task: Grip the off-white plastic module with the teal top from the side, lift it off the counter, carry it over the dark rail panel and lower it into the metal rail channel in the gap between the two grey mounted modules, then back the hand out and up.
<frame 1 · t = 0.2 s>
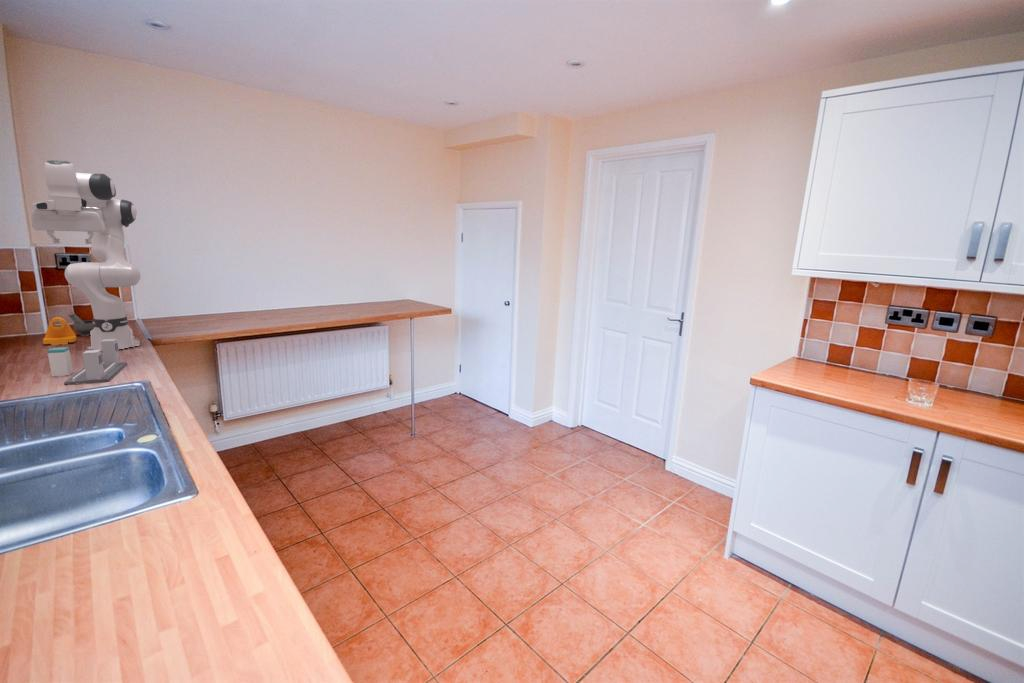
hand: (73, 243, 176), 48 cm above the table, tool pointing down, fingers open, 8 cm apart
module: (62, 374, 173), on the table
rail panel: (98, 374, 175), on the table
bracket: (60, 343, 218), on the table
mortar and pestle: (86, 335, 235), on the table
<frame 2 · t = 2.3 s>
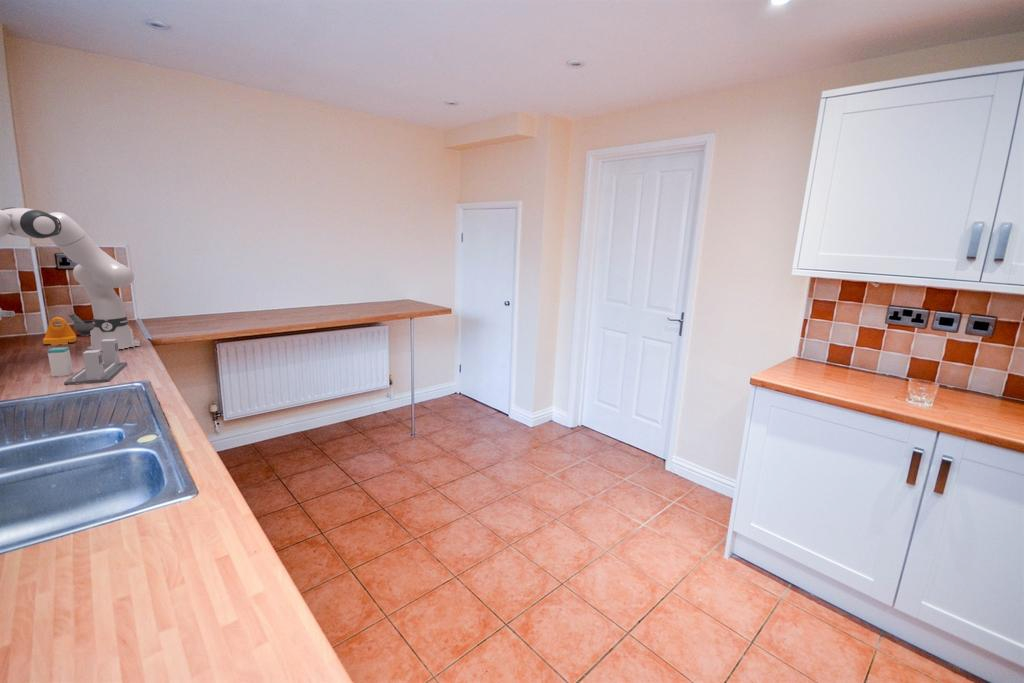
hand: (7, 315, 163), 23 cm above the table, tool horizontal, fingers open, 8 cm apart
nothing on the table moved.
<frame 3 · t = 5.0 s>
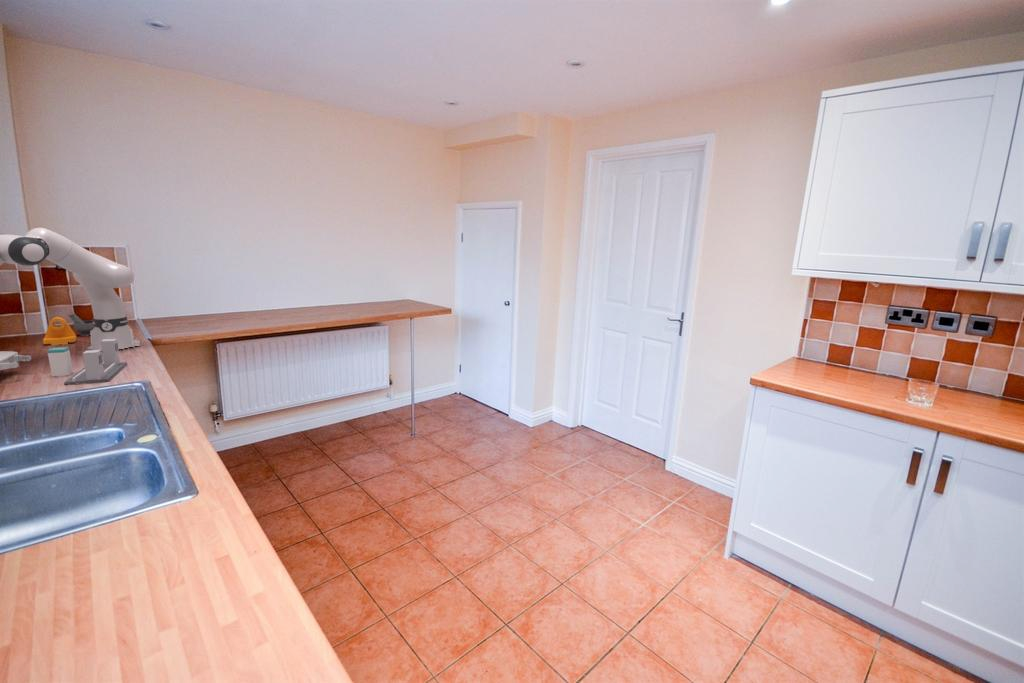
hand: (24, 361, 167), 6 cm above the table, tool horizontal, fingers open, 8 cm apart
nothing on the table moved.
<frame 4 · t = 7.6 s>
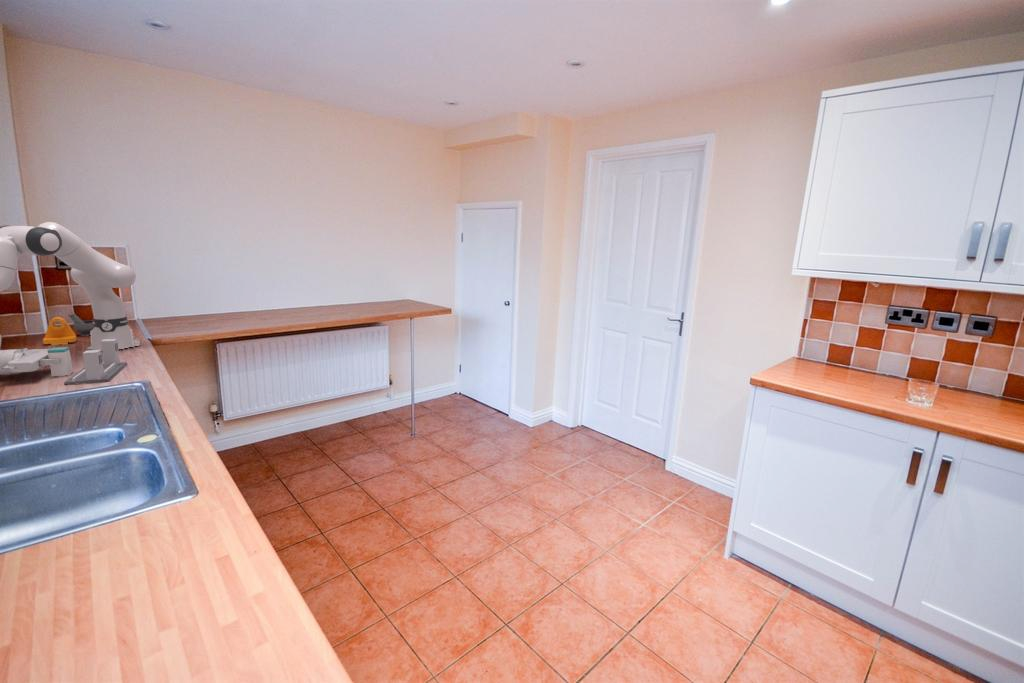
hand: (63, 358, 172), 6 cm above the table, tool horizontal, fingers closed on module, 5 cm apart
module: (62, 374, 173), on the table, touching gripper
everything else where it was.
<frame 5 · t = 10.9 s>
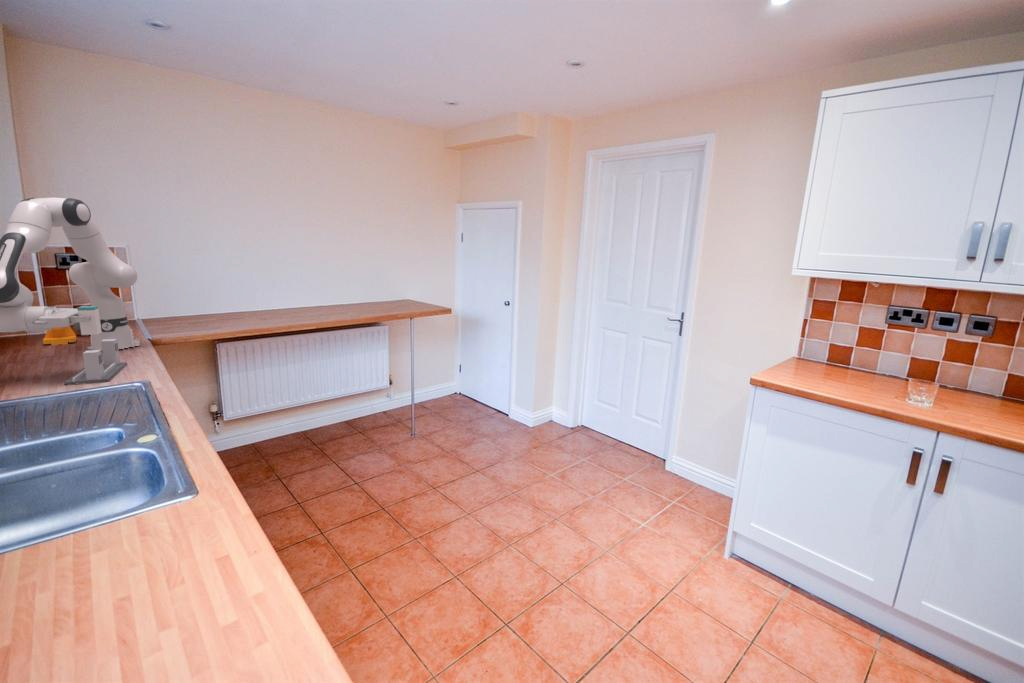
hand: (92, 317, 171), 22 cm above the table, tool horizontal, fingers closed on module, 5 cm apart
module: (91, 333, 172), point 16 cm above the table, touching gripper
everything else where it was.
when the fingers open (8 cm above the table, at t = 14.3 s): module drops 1 cm, resting on rail panel.
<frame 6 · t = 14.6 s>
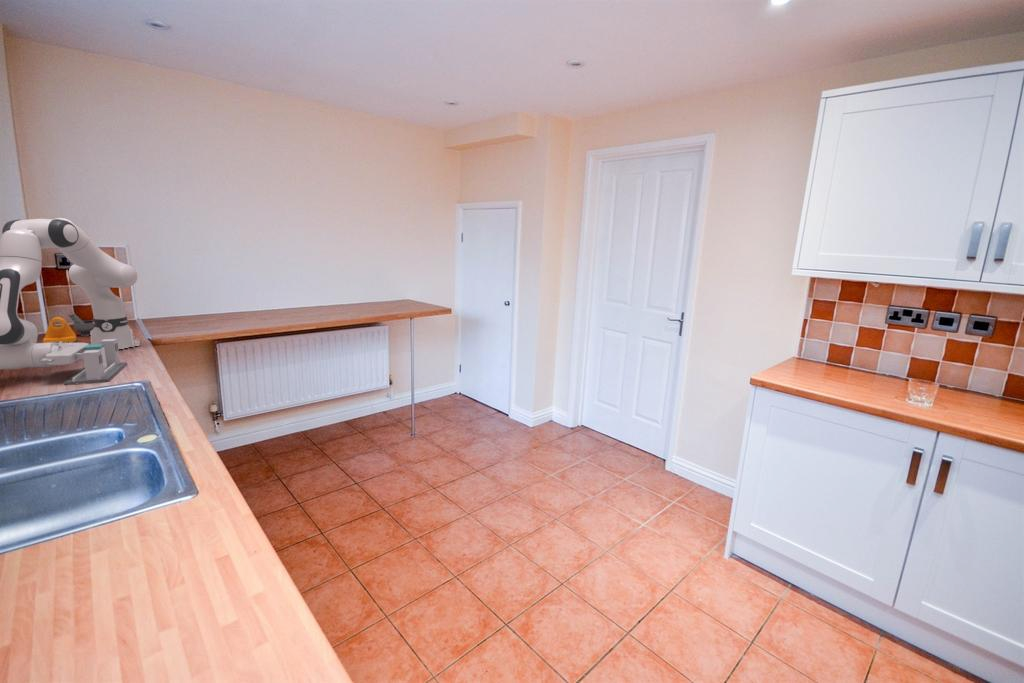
hand: (97, 352, 174), 8 cm above the table, tool horizontal, fingers open, 7 cm apart
module: (97, 371, 175), point 1 cm above the table, touching rail panel
everything else where it was.
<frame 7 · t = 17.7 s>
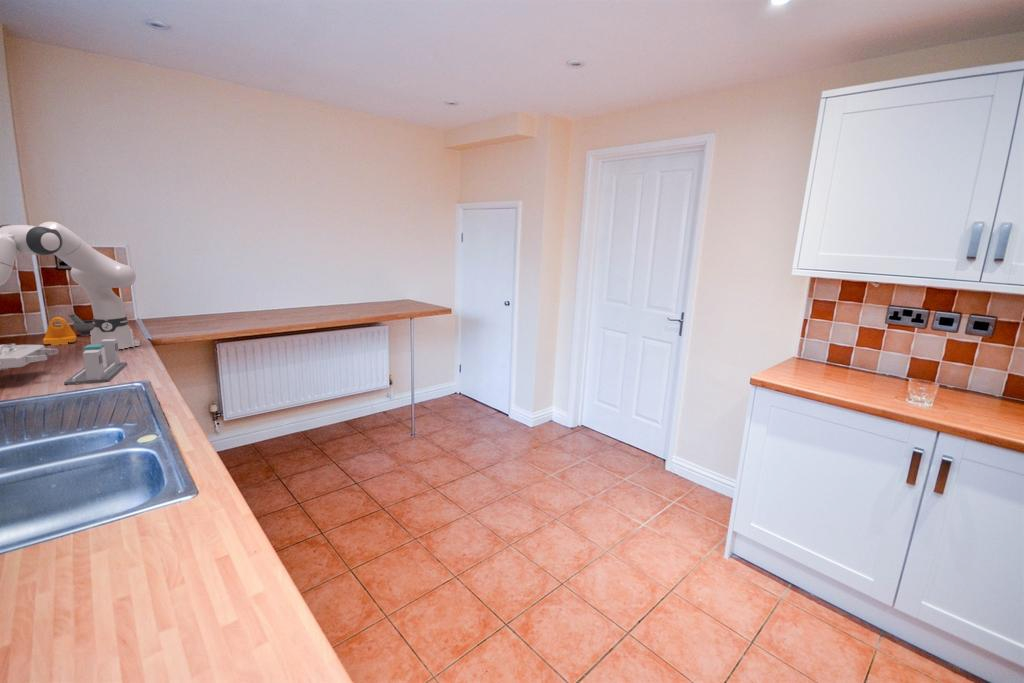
hand: (52, 354, 168), 9 cm above the table, tool horizontal, fingers open, 8 cm apart
nothing on the table moved.
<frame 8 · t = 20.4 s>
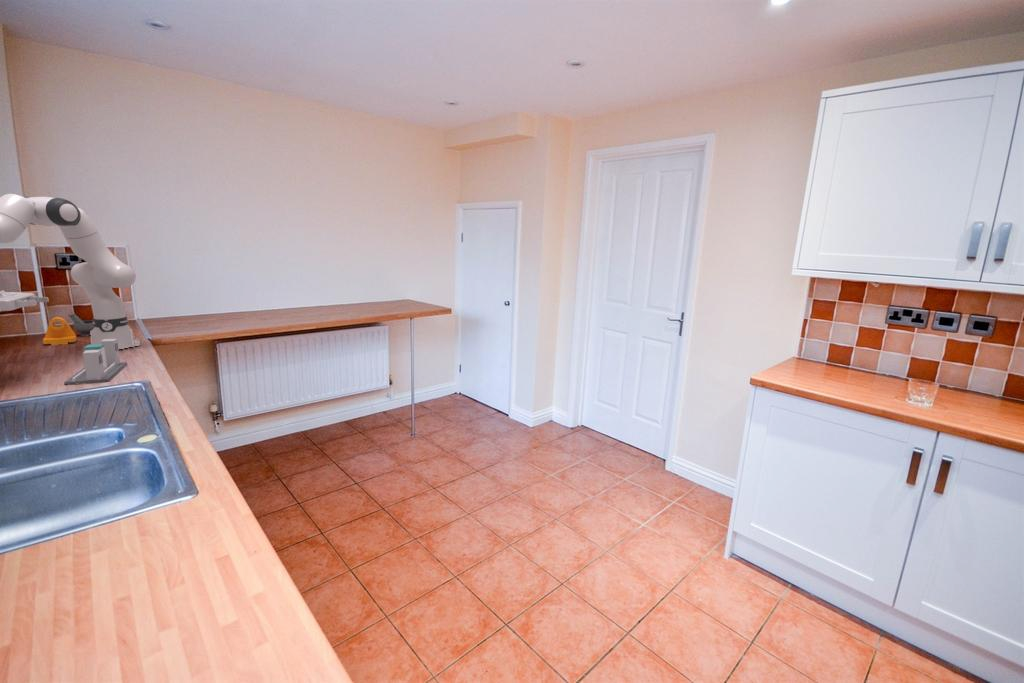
hand: (42, 301, 164), 28 cm above the table, tool horizontal, fingers open, 8 cm apart
nothing on the table moved.
at the end: module 0.0 cm off-centre on the rail panel, point 1.0 cm above the rail panel's base; module tilted 0°; the gripper is holding nothing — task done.
